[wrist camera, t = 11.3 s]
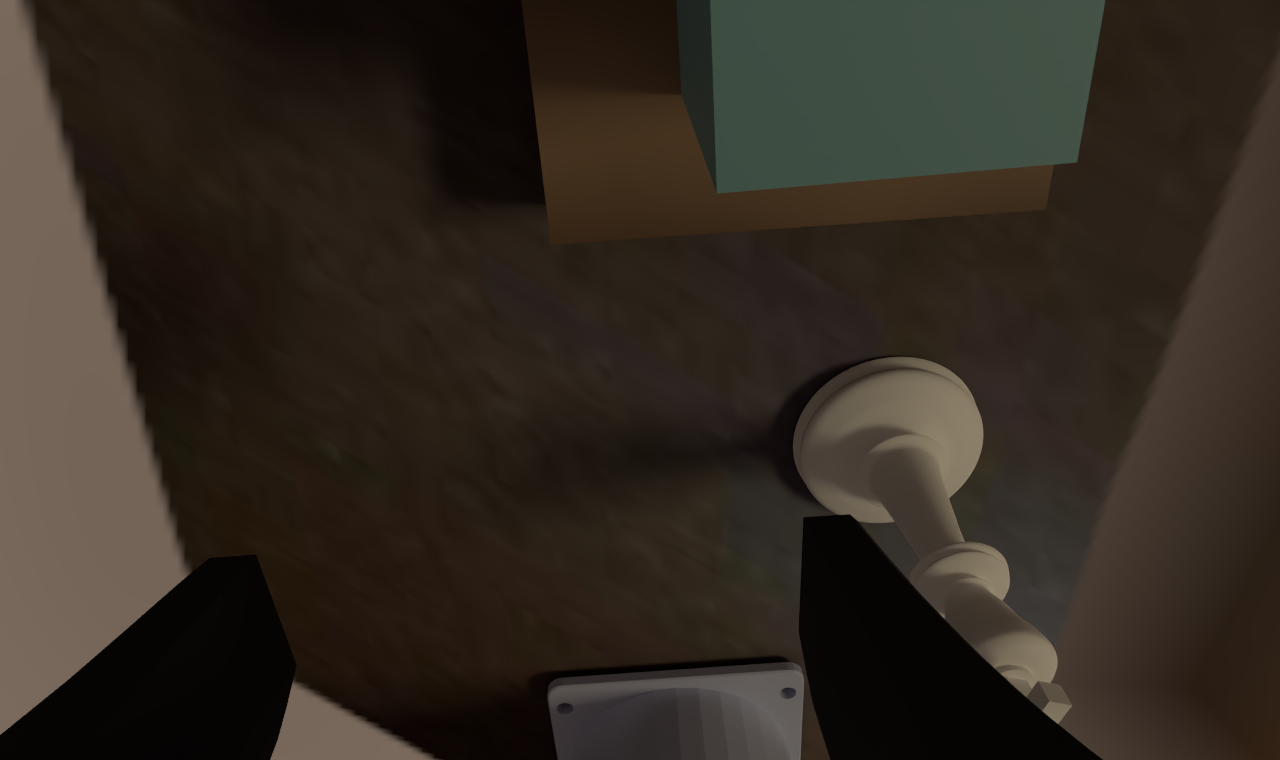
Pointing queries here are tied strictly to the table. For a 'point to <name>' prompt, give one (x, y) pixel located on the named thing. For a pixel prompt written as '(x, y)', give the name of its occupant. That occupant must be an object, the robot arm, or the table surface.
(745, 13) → the teal block
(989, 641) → the chess piece
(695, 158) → the walnut base
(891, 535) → the table surface
